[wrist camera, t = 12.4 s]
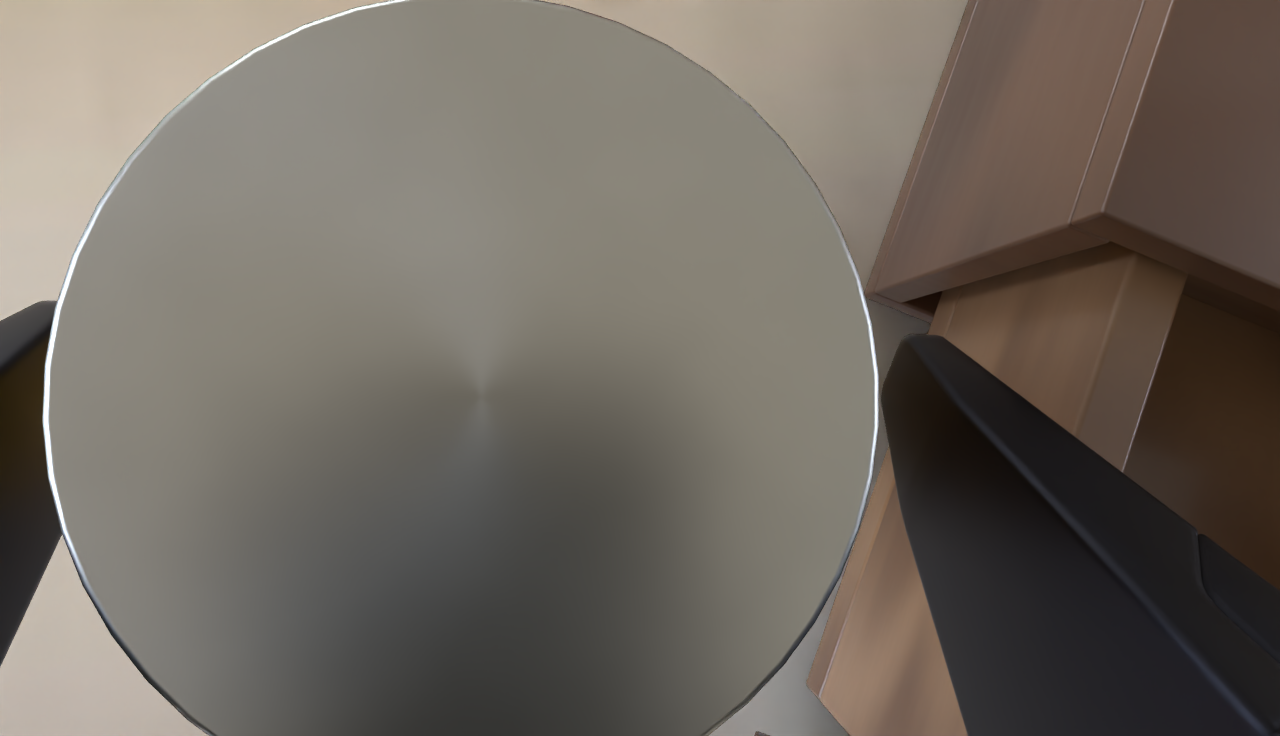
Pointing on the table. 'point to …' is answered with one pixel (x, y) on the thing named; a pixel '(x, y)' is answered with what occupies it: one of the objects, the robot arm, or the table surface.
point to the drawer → (1100, 418)
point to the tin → (461, 386)
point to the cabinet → (1095, 146)
